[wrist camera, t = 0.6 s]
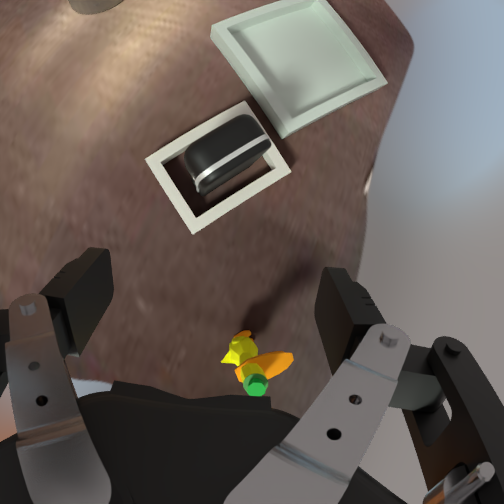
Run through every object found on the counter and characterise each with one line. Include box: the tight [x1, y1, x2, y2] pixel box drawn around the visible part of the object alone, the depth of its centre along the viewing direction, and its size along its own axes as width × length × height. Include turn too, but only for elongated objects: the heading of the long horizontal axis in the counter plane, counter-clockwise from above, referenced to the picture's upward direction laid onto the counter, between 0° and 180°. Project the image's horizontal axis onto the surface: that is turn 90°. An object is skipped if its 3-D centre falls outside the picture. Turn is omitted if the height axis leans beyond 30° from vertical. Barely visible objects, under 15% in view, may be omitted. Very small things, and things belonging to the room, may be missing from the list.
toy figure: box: [221, 330, 294, 396], centre depth 31 cm, size 7×4×12 cm, turn 107°
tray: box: [210, 0, 388, 139], centre depth 33 cm, size 16×16×3 cm
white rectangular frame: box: [145, 101, 291, 234], centre depth 33 cm, size 9×12×2 cm
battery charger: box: [184, 114, 271, 196], centre depth 29 cm, size 7×4×11 cm, turn 123°
